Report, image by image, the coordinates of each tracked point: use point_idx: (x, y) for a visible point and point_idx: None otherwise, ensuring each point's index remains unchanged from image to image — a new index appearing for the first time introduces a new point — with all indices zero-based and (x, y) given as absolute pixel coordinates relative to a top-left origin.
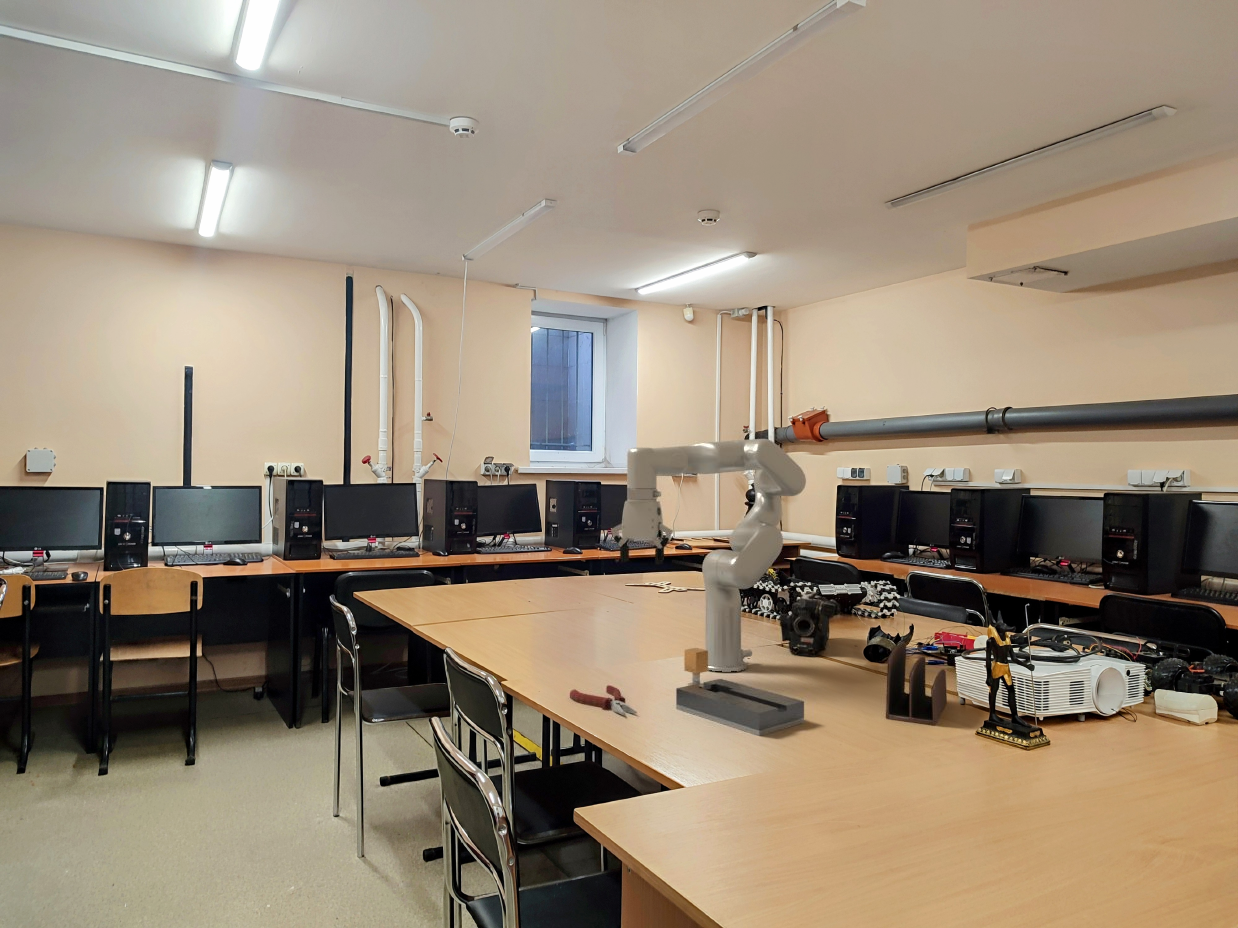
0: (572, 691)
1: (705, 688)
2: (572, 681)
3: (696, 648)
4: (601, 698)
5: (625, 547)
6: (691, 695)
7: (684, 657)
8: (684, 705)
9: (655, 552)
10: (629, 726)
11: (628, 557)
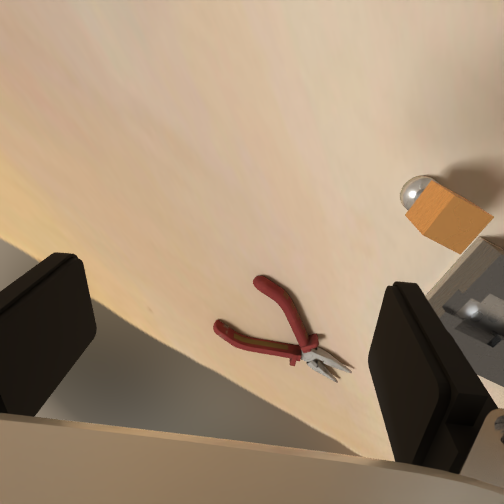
0: (220, 336)
1: (464, 297)
2: (158, 235)
3: (456, 205)
4: (283, 356)
5: (10, 404)
6: None
7: (415, 226)
8: None
9: (393, 443)
10: (355, 403)
11: (65, 277)
